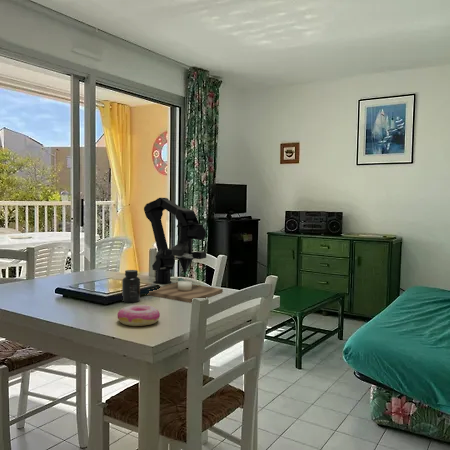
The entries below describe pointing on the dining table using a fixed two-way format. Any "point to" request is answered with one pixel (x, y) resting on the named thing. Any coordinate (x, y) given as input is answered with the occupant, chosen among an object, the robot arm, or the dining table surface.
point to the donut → (138, 315)
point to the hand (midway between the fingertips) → (184, 272)
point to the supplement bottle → (131, 286)
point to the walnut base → (184, 292)
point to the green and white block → (184, 285)
